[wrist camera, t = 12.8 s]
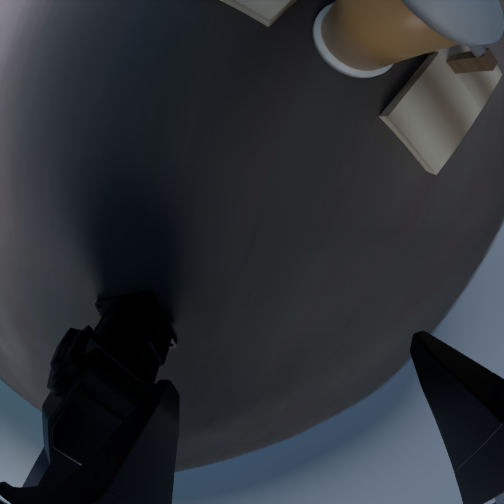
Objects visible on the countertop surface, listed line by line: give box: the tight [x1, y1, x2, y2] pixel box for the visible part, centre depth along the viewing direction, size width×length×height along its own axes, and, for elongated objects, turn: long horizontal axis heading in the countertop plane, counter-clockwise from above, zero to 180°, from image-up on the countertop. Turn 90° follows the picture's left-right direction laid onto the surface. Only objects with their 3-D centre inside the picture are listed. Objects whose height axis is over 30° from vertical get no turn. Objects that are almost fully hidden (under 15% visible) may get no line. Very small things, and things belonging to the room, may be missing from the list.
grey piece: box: [220, 0, 502, 175], centre depth 10 cm, size 14×22×6 cm, turn 53°
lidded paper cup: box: [312, 0, 504, 78], centre depth 9 cm, size 6×6×12 cm
